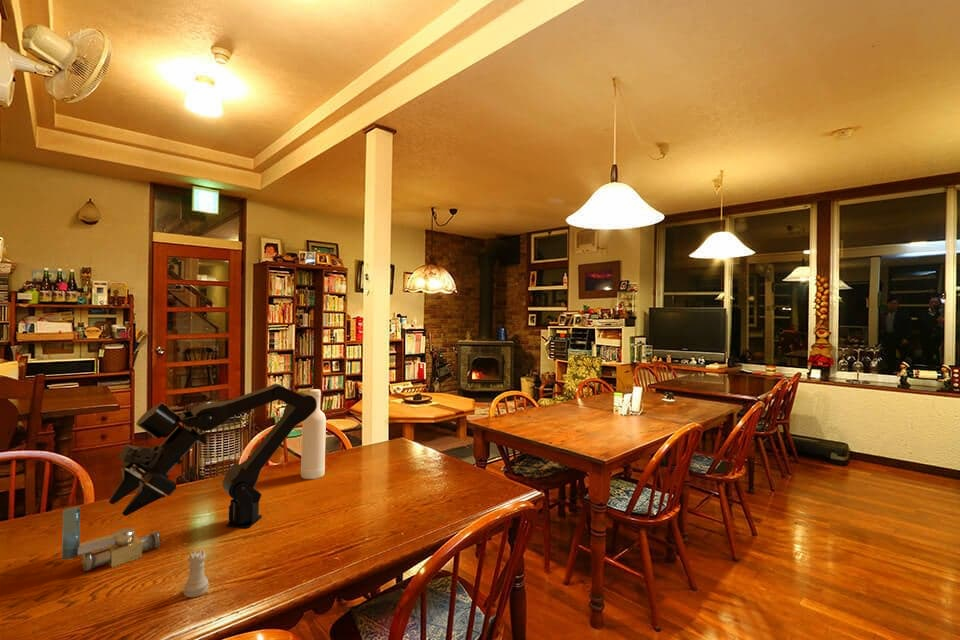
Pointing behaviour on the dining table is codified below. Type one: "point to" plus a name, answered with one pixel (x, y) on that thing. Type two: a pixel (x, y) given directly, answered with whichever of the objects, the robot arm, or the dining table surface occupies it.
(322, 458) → the bottle
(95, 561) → the valve body
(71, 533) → the lever
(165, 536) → the dining table surface
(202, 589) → the rook chess piece
